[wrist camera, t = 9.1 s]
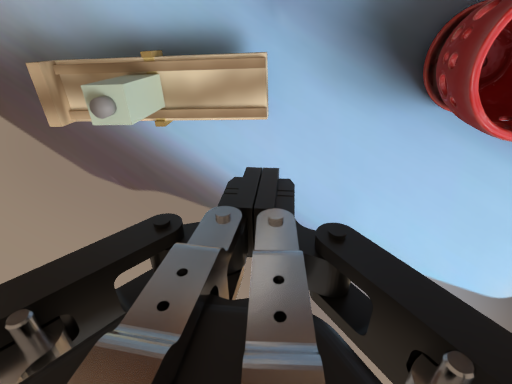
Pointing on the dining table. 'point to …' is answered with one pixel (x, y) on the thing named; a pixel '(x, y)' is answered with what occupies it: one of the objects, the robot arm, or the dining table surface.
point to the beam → (172, 81)
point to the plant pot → (475, 67)
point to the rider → (123, 99)
